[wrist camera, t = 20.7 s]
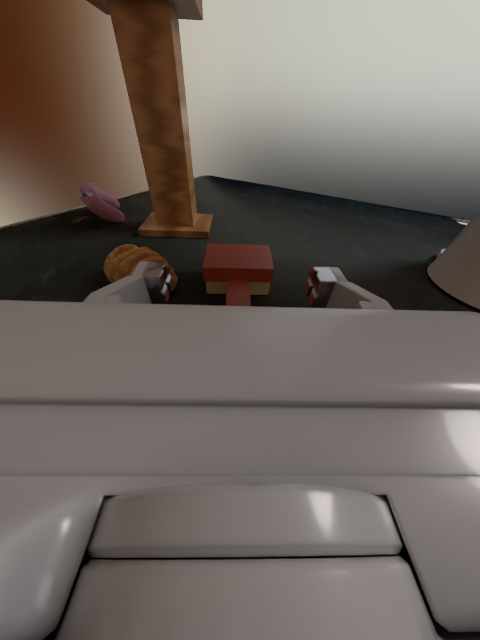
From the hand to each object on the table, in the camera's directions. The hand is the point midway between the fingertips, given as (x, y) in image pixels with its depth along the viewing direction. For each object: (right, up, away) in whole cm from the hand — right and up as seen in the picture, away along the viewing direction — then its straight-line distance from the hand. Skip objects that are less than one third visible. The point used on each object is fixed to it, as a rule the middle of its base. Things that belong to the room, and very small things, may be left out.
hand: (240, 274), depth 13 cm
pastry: (-12, +2, +16) cm, 20 cm away
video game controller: (-26, +18, +32) cm, 45 cm away
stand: (-11, +15, +29) cm, 34 cm away
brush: (0, -1, +13) cm, 13 cm away
